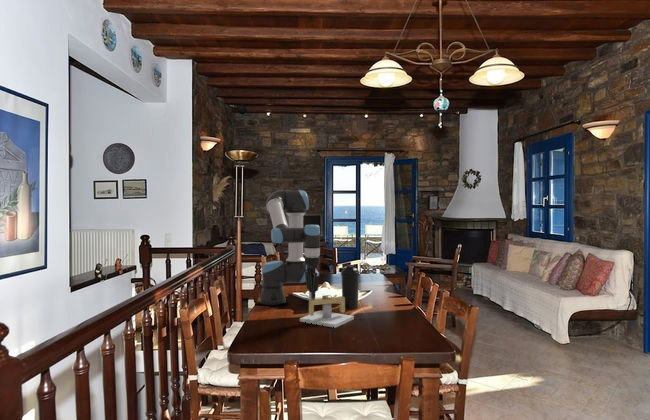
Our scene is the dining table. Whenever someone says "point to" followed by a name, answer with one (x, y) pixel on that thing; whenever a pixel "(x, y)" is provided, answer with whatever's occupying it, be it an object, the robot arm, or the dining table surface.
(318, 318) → the base
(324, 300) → the yellow u-shaped block
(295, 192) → the robot arm
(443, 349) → the dining table surface
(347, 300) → the water bottle
